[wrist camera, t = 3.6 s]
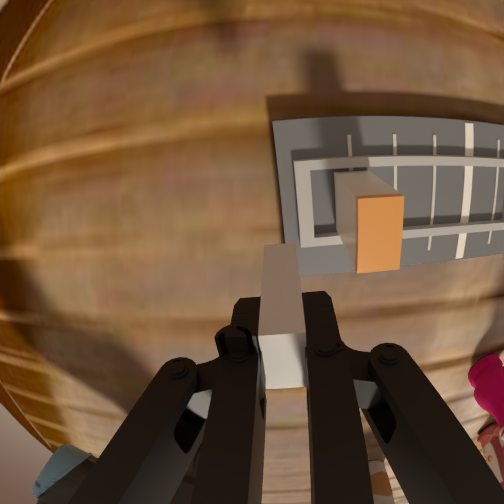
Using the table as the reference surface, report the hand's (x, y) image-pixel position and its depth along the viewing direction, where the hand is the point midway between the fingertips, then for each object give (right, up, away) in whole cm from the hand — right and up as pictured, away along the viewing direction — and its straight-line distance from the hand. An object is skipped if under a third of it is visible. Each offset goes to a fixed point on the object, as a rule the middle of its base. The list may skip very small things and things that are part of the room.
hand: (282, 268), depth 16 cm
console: (+14, +7, +11) cm, 19 cm away
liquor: (+53, -40, +31) cm, 73 cm away
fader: (+7, +5, +9) cm, 13 cm away
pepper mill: (+35, -18, +21) cm, 45 cm away
